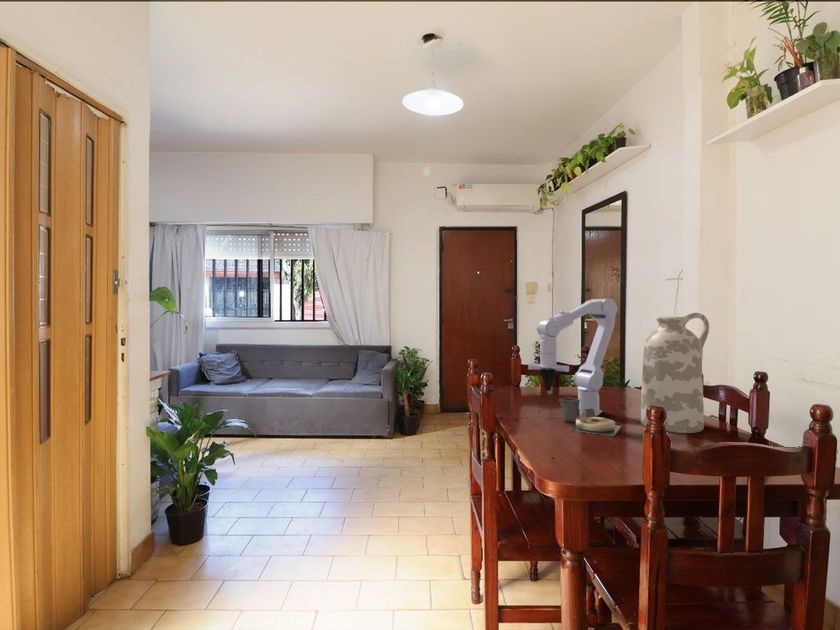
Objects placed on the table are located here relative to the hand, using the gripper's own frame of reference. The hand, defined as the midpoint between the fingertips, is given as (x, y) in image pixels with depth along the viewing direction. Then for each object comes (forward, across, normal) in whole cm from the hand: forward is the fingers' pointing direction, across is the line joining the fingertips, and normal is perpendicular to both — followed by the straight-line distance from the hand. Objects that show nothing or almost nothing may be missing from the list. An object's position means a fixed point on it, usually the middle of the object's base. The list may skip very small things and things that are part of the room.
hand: (548, 390), depth 171 cm
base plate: (+10, +18, -8) cm, 23 cm away
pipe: (+10, +10, 0) cm, 14 cm away
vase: (+10, +40, +8) cm, 42 cm away
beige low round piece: (+10, +18, -8) cm, 22 cm away
